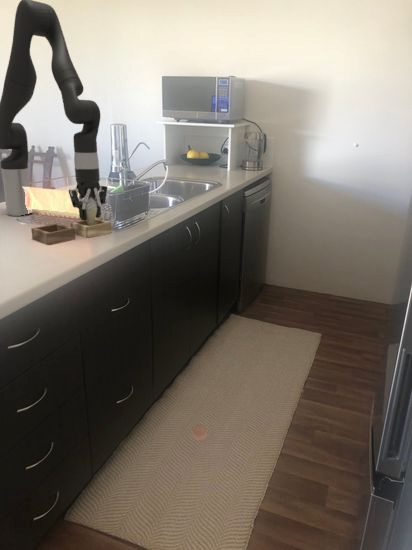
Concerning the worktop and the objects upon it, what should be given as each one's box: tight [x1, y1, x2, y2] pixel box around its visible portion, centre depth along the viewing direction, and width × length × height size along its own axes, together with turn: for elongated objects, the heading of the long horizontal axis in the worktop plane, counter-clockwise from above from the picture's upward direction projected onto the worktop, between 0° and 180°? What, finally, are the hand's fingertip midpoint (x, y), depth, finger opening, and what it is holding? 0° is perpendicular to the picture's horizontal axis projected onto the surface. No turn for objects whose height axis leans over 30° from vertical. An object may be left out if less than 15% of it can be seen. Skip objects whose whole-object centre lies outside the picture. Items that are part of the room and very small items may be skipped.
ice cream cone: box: [85, 197, 98, 226], centre depth 143 cm, size 5×5×15 cm
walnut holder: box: [30, 223, 76, 246], centre depth 137 cm, size 9×9×4 cm
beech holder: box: [70, 218, 112, 239], centre depth 145 cm, size 9×9×4 cm
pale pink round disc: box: [191, 424, 208, 442], centre depth 177 cm, size 6×6×3 cm
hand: (90, 218), depth 144 cm, fingers closed on ice cream cone, 5 cm apart
